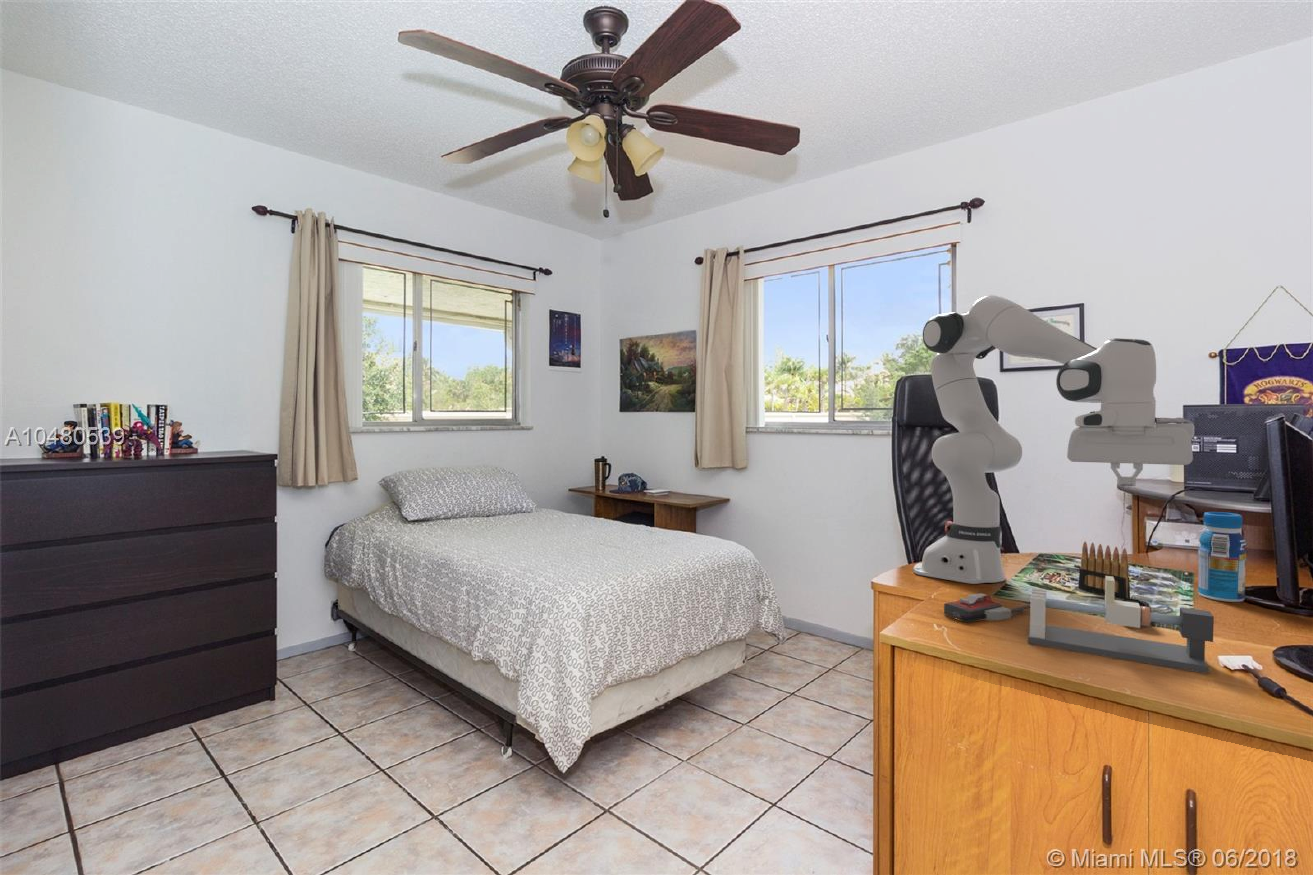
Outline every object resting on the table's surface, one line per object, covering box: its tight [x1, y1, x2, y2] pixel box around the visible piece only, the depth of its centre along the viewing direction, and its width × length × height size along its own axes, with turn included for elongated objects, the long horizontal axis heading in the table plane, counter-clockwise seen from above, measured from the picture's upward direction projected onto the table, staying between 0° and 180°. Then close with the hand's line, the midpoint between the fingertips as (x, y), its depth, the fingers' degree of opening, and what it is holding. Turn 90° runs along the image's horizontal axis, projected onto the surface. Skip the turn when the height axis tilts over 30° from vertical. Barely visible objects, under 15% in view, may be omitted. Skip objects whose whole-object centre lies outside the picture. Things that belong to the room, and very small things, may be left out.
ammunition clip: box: [1078, 541, 1131, 600], centre depth 150 cm, size 11×2×12 cm, turn 26°
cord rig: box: [1027, 587, 1215, 675], centre depth 114 cm, size 27×10×9 cm, turn 57°
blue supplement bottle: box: [1197, 511, 1247, 603], centre depth 145 cm, size 8×8×20 cm
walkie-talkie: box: [943, 592, 1030, 623], centre depth 135 cm, size 9×4×20 cm
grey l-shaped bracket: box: [1104, 576, 1141, 629], centre depth 113 cm, size 5×4×8 cm
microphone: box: [1121, 597, 1151, 626], centre depth 133 cm, size 6×6×20 cm
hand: (1126, 485), depth 125 cm, fingers closed
